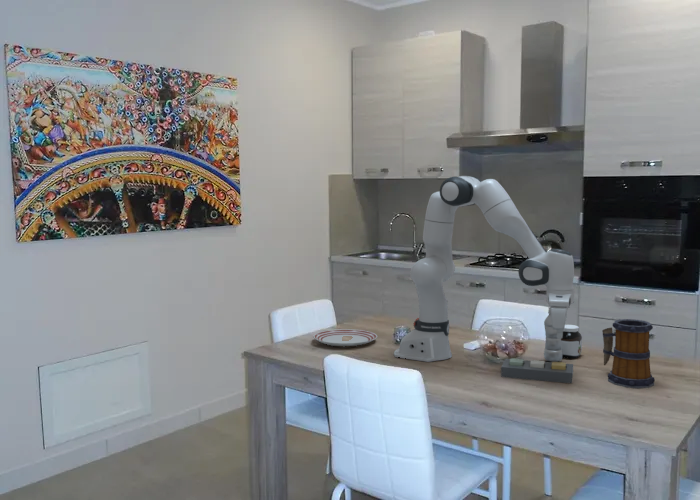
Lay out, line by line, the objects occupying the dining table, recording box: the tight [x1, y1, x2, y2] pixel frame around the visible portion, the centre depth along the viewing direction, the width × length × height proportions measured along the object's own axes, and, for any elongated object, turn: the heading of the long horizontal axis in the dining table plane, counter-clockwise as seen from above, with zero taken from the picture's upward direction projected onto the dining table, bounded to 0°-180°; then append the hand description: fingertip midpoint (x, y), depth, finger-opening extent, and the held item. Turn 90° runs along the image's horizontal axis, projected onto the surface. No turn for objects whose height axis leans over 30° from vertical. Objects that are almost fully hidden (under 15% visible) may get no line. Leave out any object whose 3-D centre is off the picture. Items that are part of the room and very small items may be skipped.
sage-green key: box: [509, 357, 525, 366], centre depth 219 cm, size 4×4×2 cm
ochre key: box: [552, 361, 567, 370], centre depth 214 cm, size 4×4×2 cm
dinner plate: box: [312, 328, 378, 348], centre depth 268 cm, size 28×27×3 cm
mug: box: [602, 318, 656, 390], centre depth 210 cm, size 19×14×20 cm
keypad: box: [500, 358, 574, 384], centre depth 217 cm, size 23×11×4 cm, turn 69°
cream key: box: [530, 359, 546, 368], centre depth 217 cm, size 4×4×2 cm
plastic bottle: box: [543, 307, 563, 362], centre depth 233 cm, size 6×7×20 cm
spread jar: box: [561, 324, 583, 360], centre depth 242 cm, size 12×11×12 cm
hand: (559, 337), depth 213 cm, fingers closed
